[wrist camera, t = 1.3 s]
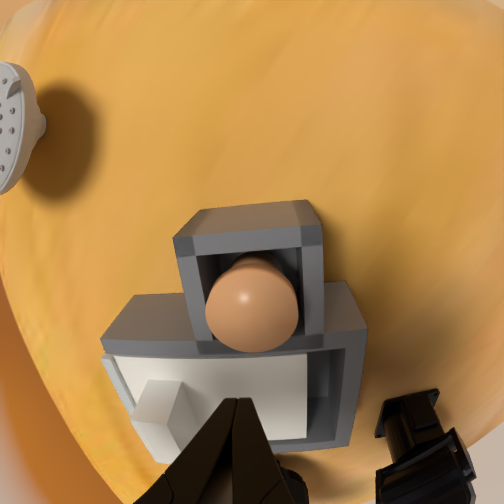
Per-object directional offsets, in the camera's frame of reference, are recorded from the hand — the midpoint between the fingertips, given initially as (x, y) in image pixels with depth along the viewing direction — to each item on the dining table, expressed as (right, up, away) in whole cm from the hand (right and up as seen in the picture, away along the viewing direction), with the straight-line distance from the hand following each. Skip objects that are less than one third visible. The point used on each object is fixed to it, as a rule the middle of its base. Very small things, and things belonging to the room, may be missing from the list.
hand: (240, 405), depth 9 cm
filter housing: (-1, -1, +14) cm, 14 cm away
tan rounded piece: (+1, +3, +9) cm, 10 cm away
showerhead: (-16, +15, +10) cm, 24 cm away
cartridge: (-2, -4, +14) cm, 15 cm away
